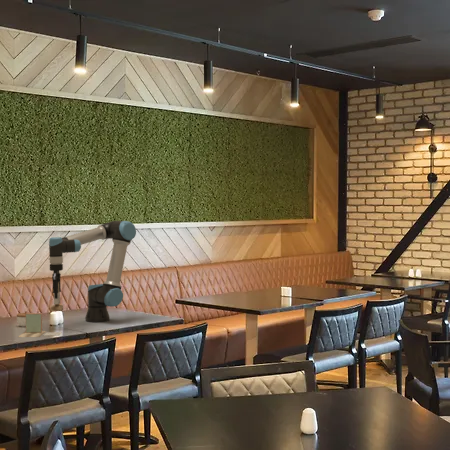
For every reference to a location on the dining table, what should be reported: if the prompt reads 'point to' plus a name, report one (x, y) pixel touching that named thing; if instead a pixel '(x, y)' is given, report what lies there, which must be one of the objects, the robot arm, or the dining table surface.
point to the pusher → (57, 305)
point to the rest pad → (52, 333)
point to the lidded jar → (22, 319)
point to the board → (31, 334)
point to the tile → (33, 322)
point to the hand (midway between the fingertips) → (57, 303)
